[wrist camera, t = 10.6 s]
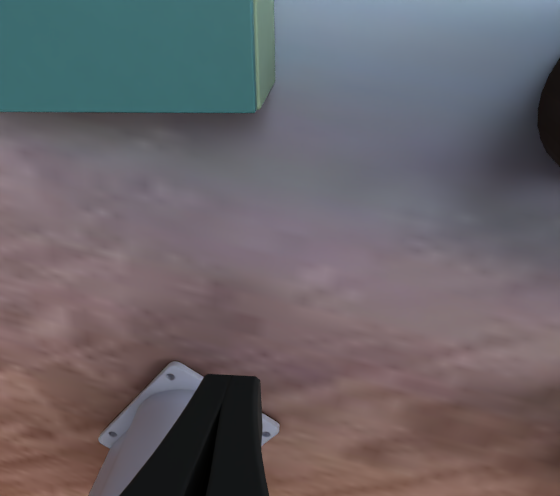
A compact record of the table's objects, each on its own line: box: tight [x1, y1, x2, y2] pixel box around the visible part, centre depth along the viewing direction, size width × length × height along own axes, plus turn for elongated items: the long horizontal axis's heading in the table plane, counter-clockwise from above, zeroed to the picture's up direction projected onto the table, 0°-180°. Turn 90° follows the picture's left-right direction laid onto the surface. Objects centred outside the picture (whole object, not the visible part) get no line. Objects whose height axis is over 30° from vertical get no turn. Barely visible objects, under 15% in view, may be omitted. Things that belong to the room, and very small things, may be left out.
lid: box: [0, 0, 257, 113], centre depth 11 cm, size 5×11×1 cm, turn 91°
